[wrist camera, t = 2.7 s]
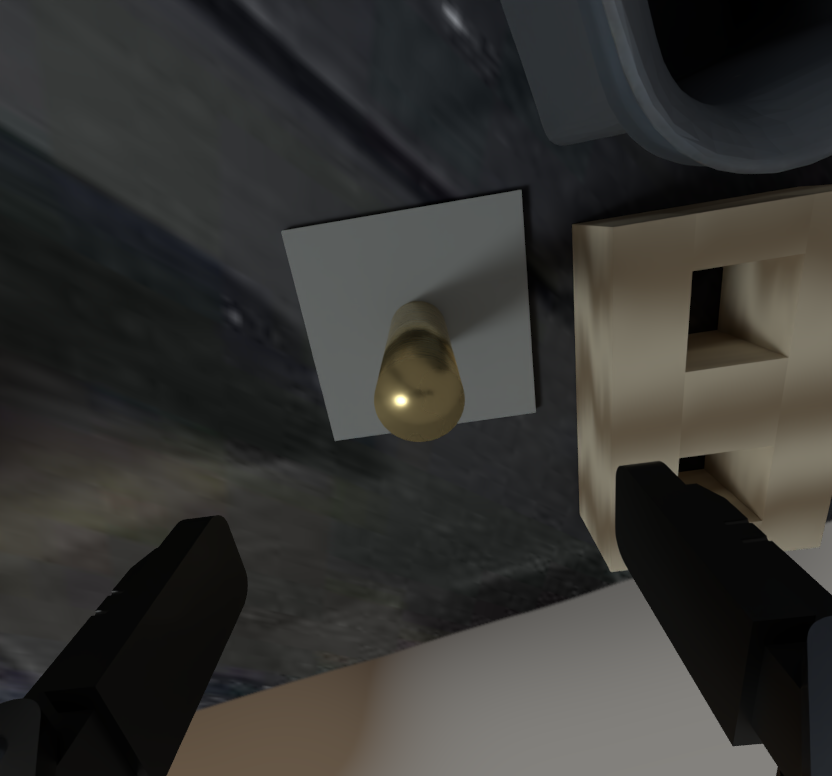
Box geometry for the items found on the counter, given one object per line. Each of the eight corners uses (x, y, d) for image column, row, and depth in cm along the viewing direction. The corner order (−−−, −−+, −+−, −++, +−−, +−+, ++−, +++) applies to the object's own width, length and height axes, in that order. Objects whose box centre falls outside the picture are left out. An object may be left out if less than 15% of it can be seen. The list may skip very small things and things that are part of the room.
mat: (283, 230, 22) (280, 231, 22) (519, 190, 22) (521, 189, 21) (336, 437, 27) (334, 440, 26) (534, 409, 26) (535, 412, 26)
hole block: (571, 224, 22) (613, 227, 18) (798, 186, 22) (902, 179, 17) (579, 514, 29) (611, 572, 24) (753, 491, 28) (819, 546, 24)
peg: (385, 305, 23) (365, 365, 14) (441, 296, 23) (459, 351, 14) (395, 358, 24) (383, 447, 15) (449, 350, 24) (469, 435, 15)
